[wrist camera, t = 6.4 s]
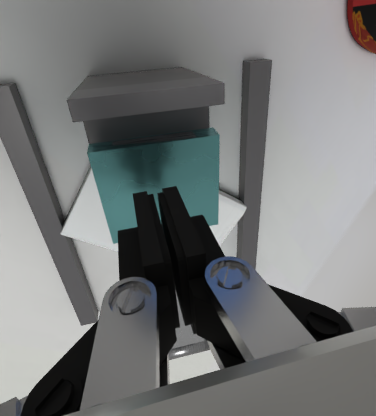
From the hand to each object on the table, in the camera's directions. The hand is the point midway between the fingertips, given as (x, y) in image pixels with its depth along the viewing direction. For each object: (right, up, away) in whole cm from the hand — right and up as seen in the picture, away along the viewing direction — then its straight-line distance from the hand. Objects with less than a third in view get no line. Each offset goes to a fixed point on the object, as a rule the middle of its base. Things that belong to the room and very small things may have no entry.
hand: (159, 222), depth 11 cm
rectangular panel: (0, -3, +7) cm, 8 cm away
